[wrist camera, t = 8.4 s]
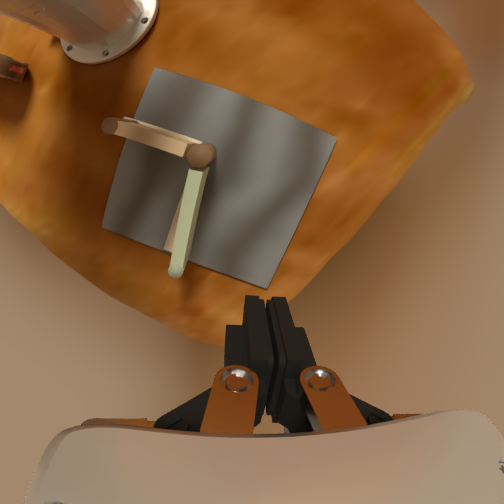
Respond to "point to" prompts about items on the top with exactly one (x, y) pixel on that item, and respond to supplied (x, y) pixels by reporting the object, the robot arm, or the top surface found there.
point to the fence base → (214, 174)
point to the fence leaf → (187, 220)
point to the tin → (12, 68)
